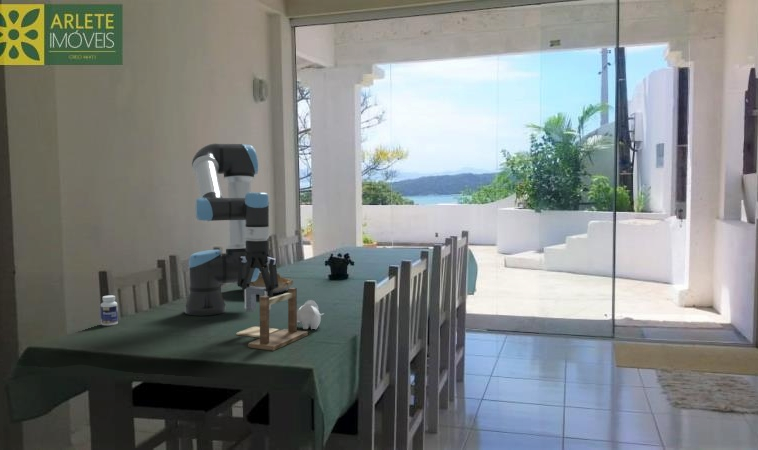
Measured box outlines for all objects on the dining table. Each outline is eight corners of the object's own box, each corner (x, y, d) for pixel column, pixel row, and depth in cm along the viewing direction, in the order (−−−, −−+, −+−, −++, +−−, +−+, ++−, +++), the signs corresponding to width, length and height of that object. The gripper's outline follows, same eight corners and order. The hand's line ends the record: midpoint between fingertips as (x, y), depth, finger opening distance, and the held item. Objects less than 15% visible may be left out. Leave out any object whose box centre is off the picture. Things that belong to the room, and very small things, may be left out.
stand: (273, 350, 178) (273, 299, 177) (248, 347, 182) (247, 296, 181) (307, 335, 197) (307, 288, 196) (284, 332, 200) (283, 286, 199)
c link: (246, 311, 199) (246, 287, 198) (251, 309, 202) (251, 286, 201) (264, 313, 196) (264, 288, 196) (269, 311, 199) (269, 287, 198)
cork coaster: (236, 334, 197) (236, 332, 197) (254, 328, 206) (254, 326, 206) (262, 337, 193) (262, 336, 193) (279, 330, 202) (279, 329, 202)
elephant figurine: (291, 324, 212) (291, 299, 212) (326, 324, 212) (326, 299, 211) (287, 330, 203) (286, 304, 202) (322, 331, 202) (322, 305, 202)
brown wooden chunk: (307, 286, 278) (303, 255, 275) (267, 307, 256) (262, 273, 253) (259, 282, 294) (255, 253, 291) (218, 301, 272) (212, 269, 269)
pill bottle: (101, 326, 207) (100, 298, 206) (100, 323, 212) (99, 295, 211) (118, 324, 210) (117, 297, 209) (117, 321, 214) (116, 294, 214)
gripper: (225, 239, 198) (225, 308, 199) (277, 241, 190) (277, 314, 192) (238, 237, 205) (239, 304, 206) (289, 239, 197) (290, 309, 199)
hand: (257, 309), depth 199 cm, fingers closed on c link, 7 cm apart
